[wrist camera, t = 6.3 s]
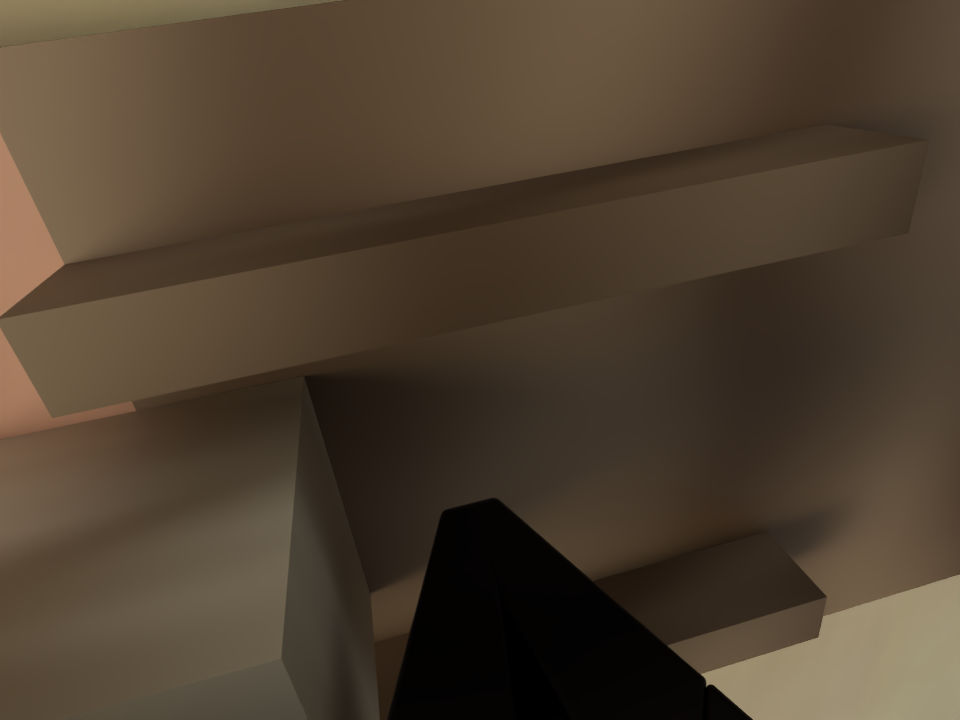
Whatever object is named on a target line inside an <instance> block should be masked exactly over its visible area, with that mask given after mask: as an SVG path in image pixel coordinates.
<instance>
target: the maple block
mask: <svg viewBox="0 0 960 720" xmlns="http://www.w3.org/2000/svg"><path fill="white" fill-rule="evenodd" d="M0 720H380V716H379V702H378V688H377V675H376V661H375V648H374V634H373V621H372V607H371V594H370V591H369V588H368V585H367V581H366V578H365V575H364V571H363V568H362V565H361V562H360V558H359V555H358V552H357V548H356V545H355V542H354V539H353V535H352V532H351V529H350V525H349V522H348V519H347V516H346V512H345V509H344V506H343V502H342V499H341V496H340V492H339V489H338V486H337V483H336V479H335V476H334V473H333V469H332V466H331V463H330V460H329V456H328V453H327V450H326V446H325V443H324V440H323V437H322V433H321V430H320V427H319V423H318V420H317V417H316V414H315V410H314V407H313V404H312V400H311V397H310V394H309V391H308V387H307V384H306V381H305V377H304V376H302V377H297V378H292V379H287V380H283V381H278V382H273V383H268V384H264V385H259V386H254V387H249V388H245V389H240V390H235V391H230V392H225V393H221V394H216V395H211V396H206V397H202V398H197V399H192V400H187V401H182V402H178V403H173V404H168V405H163V406H159V407H154V408H149V409H144V410H140V411H135V412H130V413H125V414H120V415H116V416H111V417H106V418H101V419H97V420H92V421H87V422H82V423H78V424H73V425H68V426H63V427H58V428H54V429H49V430H44V431H39V432H35V433H30V434H25V435H20V436H15V437H11V438H6V439H1V440H0Z"/></svg>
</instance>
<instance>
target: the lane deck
mask: <svg viewBox="0 0 960 720" xmlns="http://www.w3.org/2000/svg"><path fill="white" fill-rule="evenodd" d="M302 376H304V377H305V381H306V384H307V387H308V391H309V394H310V397H311V400H312V404H313V407H314V410H315V414H316V417H317V420H318V423H319V427H320V430H321V433H322V437H323V440H324V443H325V446H326V450H327V453H328V456H329V460H330V463H331V466H332V469H333V473H334V476H335V479H336V483H337V486H338V489H339V492H340V496H341V499H342V502H343V506H344V509H345V512H346V516H347V519H348V522H349V525H350V529H351V532H352V535H353V539H354V542H355V545H356V548H357V552H358V555H359V558H360V562H361V565H362V568H363V571H364V575H365V578H366V581H367V585H368V588H369V591H370V594H371V607H372V621H373V634H374V648H375V661H376V675H377V688H378V702H379V716H380V720H387V717H388V713H389V709H390V706H391V702H392V698H393V694H394V690H395V687H396V683H397V679H398V675H399V671H400V668H401V664H402V660H403V656H404V652H405V649H406V645H407V641H408V637H409V633H410V629H411V626H412V622H413V618H414V614H415V610H416V607H417V603H418V599H419V595H420V591H421V588H422V584H423V580H424V576H425V572H426V569H427V565H428V561H429V557H430V553H431V550H432V546H433V542H434V538H435V534H436V531H437V527H438V523H439V519H440V516H441V514H442V512H443V511H444V510H446V509H449V508H453V507H457V506H461V505H465V504H470V503H473V502H477V501H481V500H485V499H489V498H497V499H499V500H500V501H501V502H503V503H504V504H505V505H506V506H507V507H508V508H509V509H511V510H512V511H513V512H514V513H515V514H516V515H518V516H519V517H520V518H521V519H522V520H523V521H524V522H526V523H527V524H528V525H529V526H530V527H531V528H533V529H534V530H535V531H536V532H537V533H538V534H539V535H541V536H542V537H543V538H544V539H545V540H546V541H547V542H549V543H550V544H551V545H552V546H553V547H554V548H556V549H557V550H558V551H559V552H560V553H561V554H562V555H564V556H565V557H566V558H567V559H568V560H569V561H571V562H572V563H573V564H574V565H575V566H576V567H577V568H579V569H580V570H581V571H582V572H583V573H584V574H585V575H587V576H588V577H589V578H590V579H591V580H592V581H594V582H595V583H596V584H597V585H598V586H599V587H600V588H602V589H603V590H604V591H605V592H606V593H607V594H609V595H610V596H611V597H612V598H613V599H614V600H615V601H617V602H618V603H619V604H620V605H621V606H622V607H623V608H625V609H626V610H627V611H628V612H629V613H630V614H632V615H633V616H634V617H635V618H636V619H637V620H638V621H640V622H641V623H642V624H643V625H644V626H645V627H646V628H648V629H649V630H650V631H651V632H652V633H653V634H655V635H656V636H657V637H658V638H659V639H660V640H661V641H663V642H664V643H665V644H666V645H667V646H668V647H670V648H671V649H672V650H673V651H674V652H675V653H676V654H678V655H679V656H680V657H681V658H682V659H683V660H685V661H686V662H687V663H688V664H689V665H690V666H691V667H693V668H694V669H695V670H696V671H697V672H698V673H699V674H702V673H705V672H708V671H712V670H715V669H718V668H721V667H724V666H728V665H731V664H734V663H737V662H740V661H744V660H747V659H750V658H753V657H756V656H760V655H763V654H766V653H769V652H773V651H776V650H779V649H782V648H785V647H789V646H792V645H795V644H798V643H801V642H805V641H808V640H811V639H814V638H817V637H818V636H819V631H820V627H821V622H822V618H823V616H825V615H829V614H832V613H835V612H838V611H842V610H845V609H848V608H851V607H855V606H858V605H861V604H864V603H868V602H871V601H874V600H877V599H881V598H884V597H887V596H890V595H894V594H897V593H900V592H903V591H907V590H910V589H913V588H916V587H920V586H923V585H926V584H929V583H933V582H936V581H939V580H942V579H946V578H949V577H952V576H955V575H959V574H960V0H344V1H336V2H329V3H322V4H314V5H307V6H300V7H292V8H285V9H278V10H270V11H263V12H256V13H248V14H241V15H234V16H226V17H219V18H212V19H204V20H197V21H190V22H182V23H175V24H168V25H160V26H153V27H146V28H138V29H131V30H124V31H116V32H109V33H102V34H94V35H87V36H80V37H72V38H65V39H58V40H50V41H43V42H36V43H28V44H21V45H14V46H6V47H0V440H1V439H6V438H11V437H15V436H20V435H25V434H30V433H35V432H39V431H44V430H49V429H54V428H58V427H63V426H68V425H73V424H78V423H82V422H87V421H92V420H97V419H101V418H106V417H111V416H116V415H120V414H125V413H130V412H135V411H140V410H144V409H149V408H154V407H159V406H163V405H168V404H173V403H178V402H182V401H187V400H192V399H197V398H202V397H206V396H211V395H216V394H221V393H225V392H230V391H235V390H240V389H245V388H249V387H254V386H259V385H264V384H268V383H273V382H278V381H283V380H287V379H292V378H297V377H302Z"/></svg>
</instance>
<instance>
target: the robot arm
mask: <svg viewBox="0 0 960 720" xmlns="http://www.w3.org/2000/svg"><path fill="white" fill-rule="evenodd" d="M387 720H753V719H752V718H751V717H749V716H748V715H747V714H746V713H745V712H743V711H742V710H741V709H740V708H739V707H738V706H737V705H735V704H734V703H733V702H732V701H731V700H730V699H729V698H727V697H726V696H725V695H724V694H723V693H722V692H721V691H720V690H718V689H717V688H716V687H715V686H714V685H708V686H707V687H706V680H705V678H704V677H703V676H702V675H701V674H699V673H698V672H697V671H696V670H695V669H694V668H693V667H691V666H690V665H689V664H688V663H687V662H686V661H685V660H683V659H682V658H681V657H680V656H679V655H678V654H676V653H675V652H674V651H673V650H672V649H671V648H670V647H668V646H667V645H666V644H665V643H664V642H663V641H661V640H660V639H659V638H658V637H657V636H656V635H655V634H653V633H652V632H651V631H650V630H649V629H648V628H646V627H645V626H644V625H643V624H642V623H641V622H640V621H638V620H637V619H636V618H635V617H634V616H633V615H632V614H630V613H629V612H628V611H627V610H626V609H625V608H623V607H622V606H621V605H620V604H619V603H618V602H617V601H615V600H614V599H613V598H612V597H611V596H610V595H609V594H607V593H606V592H605V591H604V590H603V589H602V588H600V587H599V586H598V585H597V584H596V583H595V582H594V581H592V580H591V579H590V578H589V577H588V576H587V575H585V574H584V573H583V572H582V571H581V570H580V569H579V568H577V567H576V566H575V565H574V564H573V563H572V562H571V561H569V560H568V559H567V558H566V557H565V556H564V555H562V554H561V553H560V552H559V551H558V550H557V549H556V548H554V547H553V546H552V545H551V544H550V543H549V542H547V541H546V540H545V539H544V538H543V537H542V536H541V535H539V534H538V533H537V532H536V531H535V530H534V529H533V528H531V527H530V526H529V525H528V524H527V523H526V522H524V521H523V520H522V519H521V518H520V517H519V516H518V515H516V514H515V513H514V512H513V511H512V510H511V509H509V508H508V507H507V506H506V505H505V504H504V503H503V502H501V501H500V500H499V499H497V498H489V499H485V500H481V501H477V502H473V503H470V504H465V505H461V506H457V507H453V508H449V509H446V510H444V511H443V512H442V514H441V516H440V519H439V523H438V527H437V531H436V534H435V538H434V542H433V546H432V550H431V553H430V557H429V561H428V565H427V569H426V572H425V576H424V580H423V584H422V588H421V591H420V595H419V599H418V603H417V607H416V610H415V614H414V618H413V622H412V626H411V629H410V633H409V637H408V641H407V645H406V649H405V652H404V656H403V660H402V664H401V668H400V671H399V675H398V679H397V683H396V687H395V690H394V694H393V698H392V702H391V706H390V709H389V713H388V717H387Z"/></svg>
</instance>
